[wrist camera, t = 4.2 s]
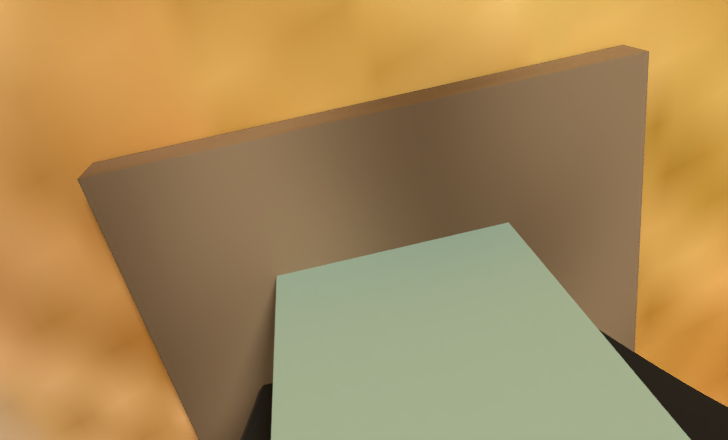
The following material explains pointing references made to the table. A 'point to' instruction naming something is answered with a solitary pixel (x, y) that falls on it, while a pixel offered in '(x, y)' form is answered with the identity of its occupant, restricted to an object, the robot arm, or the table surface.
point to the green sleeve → (449, 351)
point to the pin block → (375, 208)
